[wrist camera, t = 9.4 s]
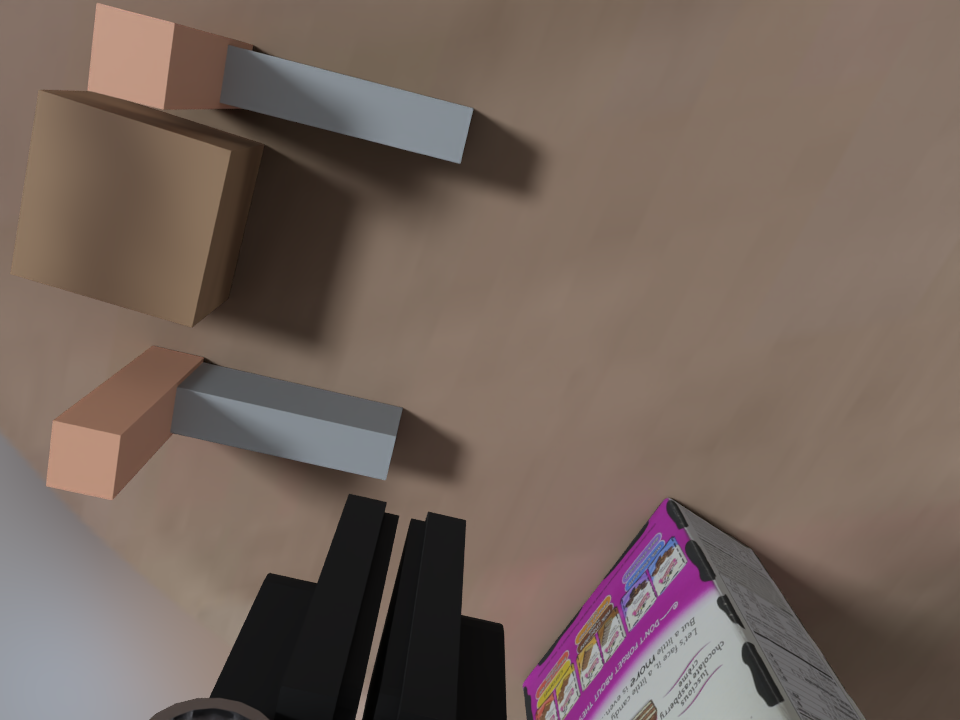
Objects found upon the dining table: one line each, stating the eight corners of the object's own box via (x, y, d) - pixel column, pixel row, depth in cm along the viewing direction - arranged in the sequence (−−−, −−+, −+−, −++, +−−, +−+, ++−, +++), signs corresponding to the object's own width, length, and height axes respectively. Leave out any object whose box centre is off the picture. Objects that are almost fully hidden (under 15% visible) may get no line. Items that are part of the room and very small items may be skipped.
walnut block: (265, 144, 30) (231, 150, 26) (229, 297, 32) (192, 327, 28) (101, 91, 30) (38, 89, 25) (74, 250, 31) (10, 273, 27)
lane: (474, 102, 30) (475, 101, 22) (392, 452, 34) (368, 555, 26) (196, 30, 29) (96, 2, 21) (145, 397, 33) (46, 486, 25)
